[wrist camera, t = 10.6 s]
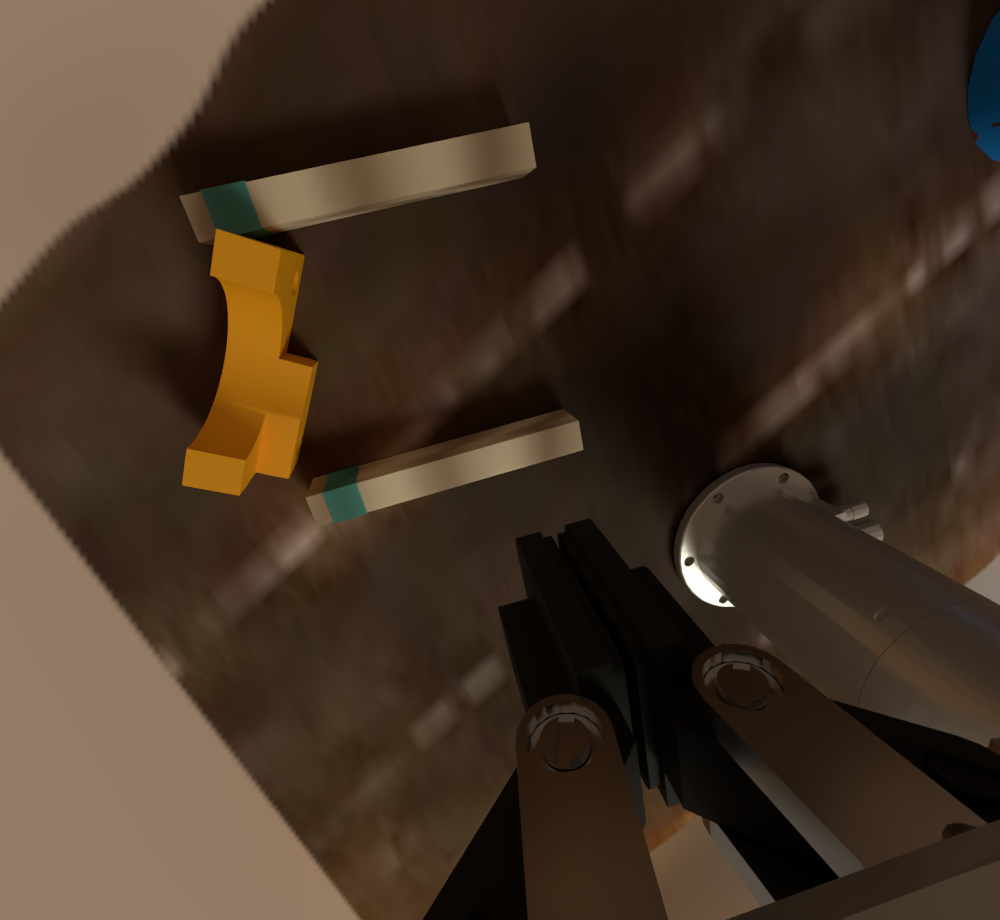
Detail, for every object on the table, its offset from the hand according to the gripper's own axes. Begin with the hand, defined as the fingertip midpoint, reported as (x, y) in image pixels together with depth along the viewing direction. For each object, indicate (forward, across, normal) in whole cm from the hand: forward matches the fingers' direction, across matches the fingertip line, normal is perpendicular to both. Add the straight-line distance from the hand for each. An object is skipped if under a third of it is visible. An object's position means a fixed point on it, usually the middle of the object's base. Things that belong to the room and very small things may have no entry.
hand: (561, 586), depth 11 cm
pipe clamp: (+23, +10, -4) cm, 25 cm away
